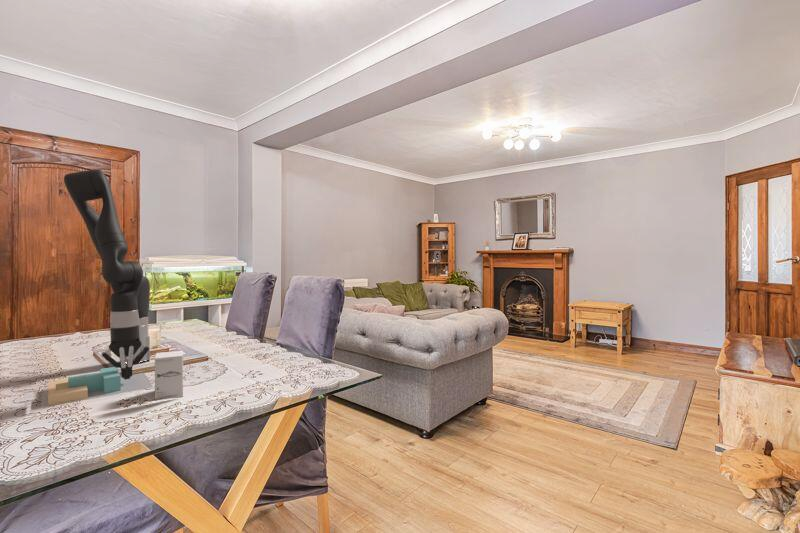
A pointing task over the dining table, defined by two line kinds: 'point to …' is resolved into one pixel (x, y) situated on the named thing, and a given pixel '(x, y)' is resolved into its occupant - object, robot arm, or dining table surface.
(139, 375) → the slot board
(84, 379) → the tee block
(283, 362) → the dining table surface
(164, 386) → the supplement box
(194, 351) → the dining table surface
